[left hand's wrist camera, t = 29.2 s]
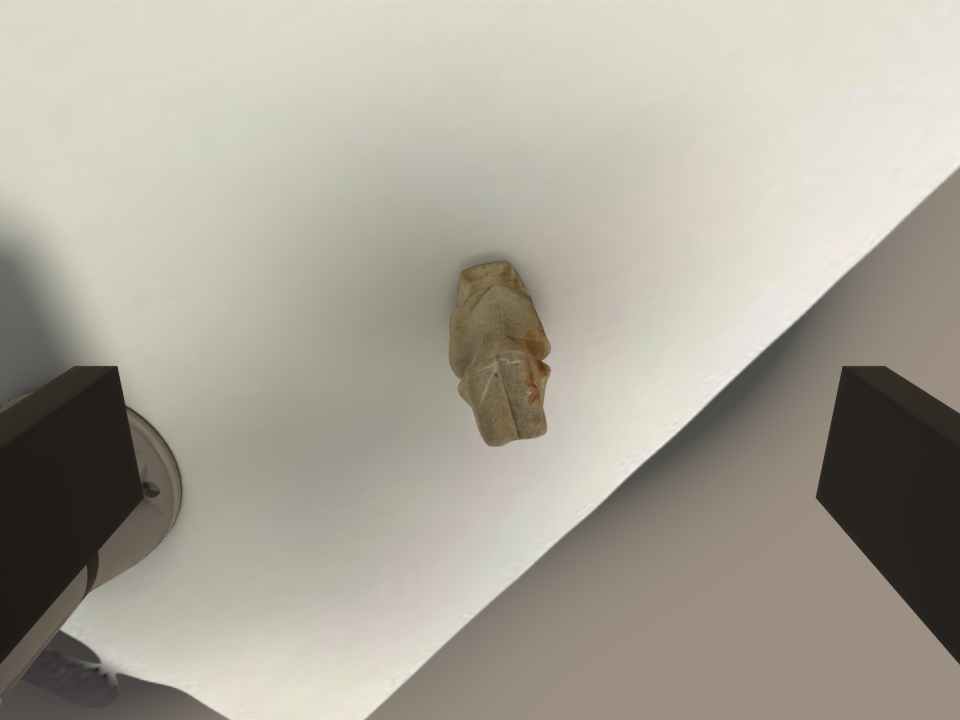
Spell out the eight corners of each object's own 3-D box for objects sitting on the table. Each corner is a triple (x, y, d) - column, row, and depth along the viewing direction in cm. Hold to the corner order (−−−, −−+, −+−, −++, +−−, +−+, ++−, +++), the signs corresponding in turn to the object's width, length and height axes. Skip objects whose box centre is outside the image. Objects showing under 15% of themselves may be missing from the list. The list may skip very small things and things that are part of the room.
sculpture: (463, 360, 48) (456, 464, 34) (444, 262, 45) (428, 331, 31) (544, 346, 48) (570, 446, 34) (529, 247, 45) (551, 310, 31)
